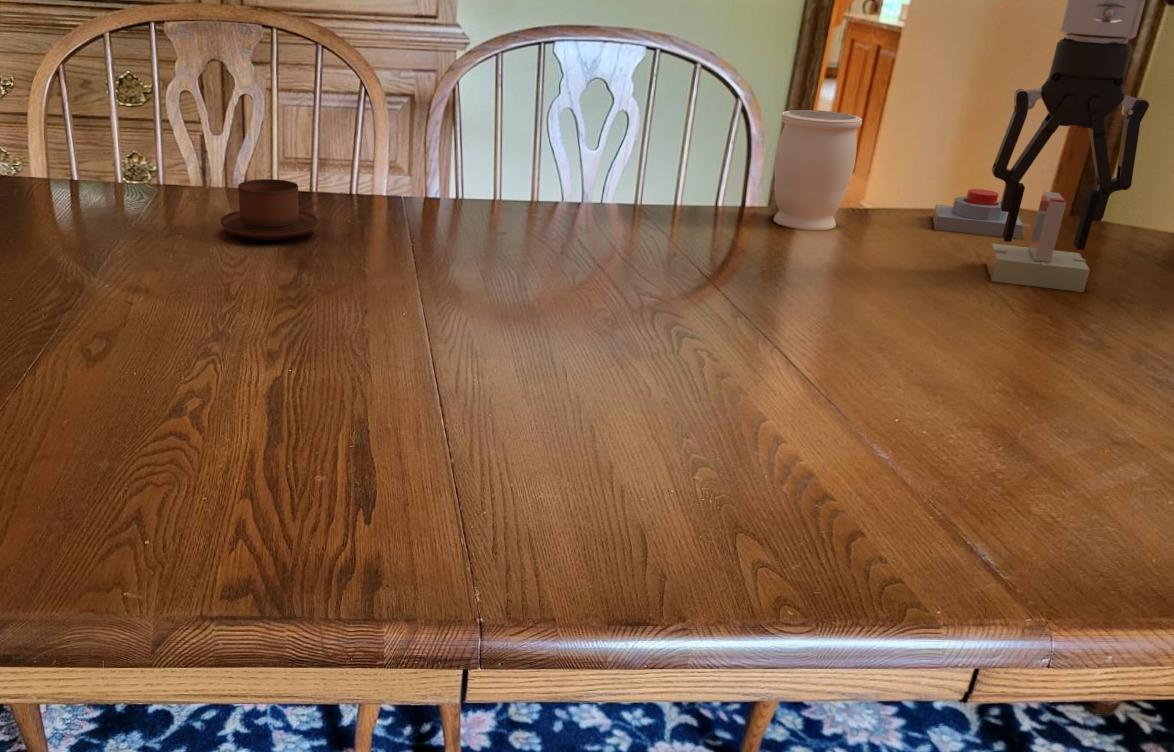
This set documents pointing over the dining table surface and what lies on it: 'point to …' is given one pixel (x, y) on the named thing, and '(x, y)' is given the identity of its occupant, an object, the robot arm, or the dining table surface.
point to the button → (982, 197)
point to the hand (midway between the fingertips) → (1042, 242)
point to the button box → (973, 218)
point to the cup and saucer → (269, 211)
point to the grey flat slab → (1047, 226)
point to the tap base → (1037, 268)
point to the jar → (813, 167)
